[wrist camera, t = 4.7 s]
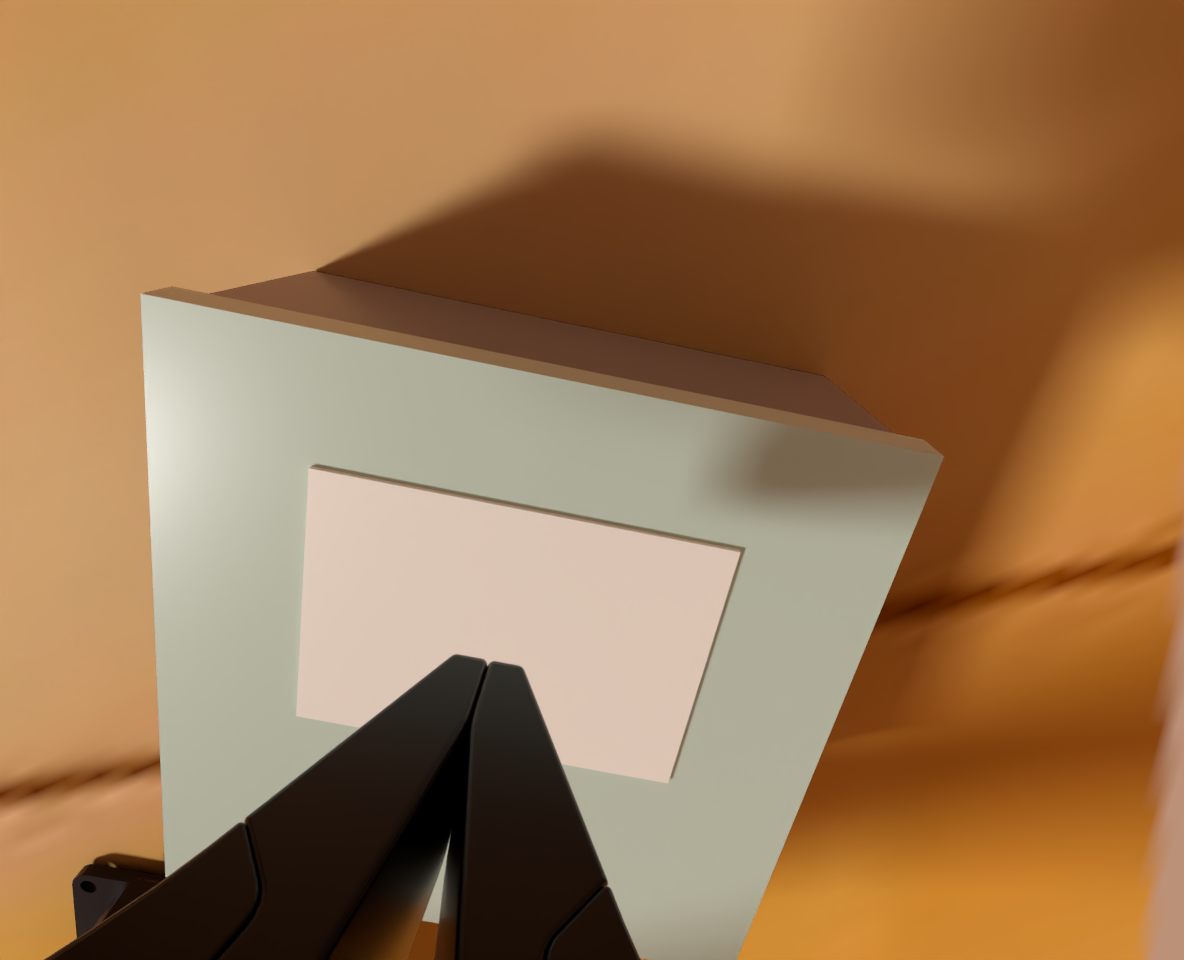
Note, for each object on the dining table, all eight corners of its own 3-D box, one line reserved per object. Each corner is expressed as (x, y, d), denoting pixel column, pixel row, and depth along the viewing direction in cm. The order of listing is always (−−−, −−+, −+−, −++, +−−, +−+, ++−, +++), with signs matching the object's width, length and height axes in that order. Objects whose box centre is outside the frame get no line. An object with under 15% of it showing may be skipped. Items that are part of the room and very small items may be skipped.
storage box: (698, 771, 21) (721, 932, 16) (289, 697, 21) (193, 841, 16) (825, 375, 17) (905, 442, 12) (313, 271, 16) (192, 297, 12)
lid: (725, 937, 16) (731, 978, 15) (186, 844, 16) (162, 881, 15) (924, 439, 12) (947, 458, 11) (172, 286, 11) (135, 294, 10)
